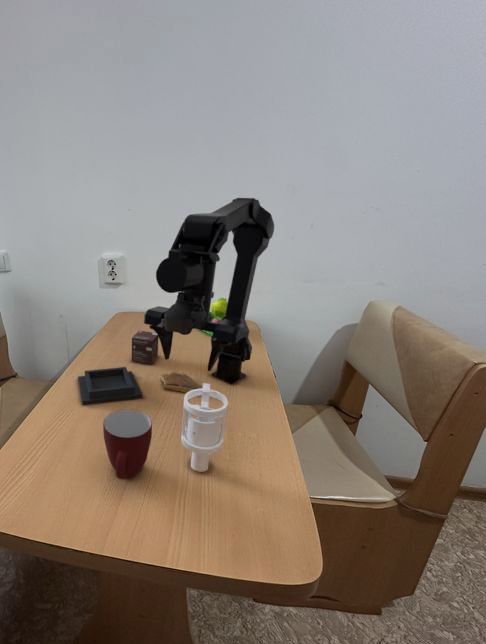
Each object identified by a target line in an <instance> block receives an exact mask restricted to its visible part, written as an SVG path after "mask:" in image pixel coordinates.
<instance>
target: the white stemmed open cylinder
mask: <svg viewBox="0 0 486 644" xmlns="http://www.w3.org/2000/svg"><path fill="white" fill-rule="evenodd" d="M202 388H203V389H194V390H191V391H189V392H187V393H186V392H185V394H184V397H183V408H182V411H183V412H182V422H181V423H182V425H181V439H180V440H181V443H182V445H183V446H184V448H185V449H186V450H188V451H190V452H191V459H190V460H191V461H190V467H191V469H192V470H194V471H195V472H197V473H204V472H206V471H207V470H209V464H210V455H212V454H216V453H218V452H220V451H221V450H222V448H223V446H224V441H225V440H224V438H225V430H226V423H227V416H228V415H227V414H228V406H229V400H228V398H227V396H225V394H223V393H222V392H219V391H217V390H215V389H211V383H205V382H203V383H202ZM195 397H201V400H200V401H201V403H200V404H201V405H200V404H192V403H190V402H189V400H190V399H192V398H195ZM210 398H214V399H216V400H218V401H220V402H222V406H221V407H219V408H216V409H214V408H212V407H209V403H210V402H209V401H210ZM193 416H196V418H195V417H193Z"/></svg>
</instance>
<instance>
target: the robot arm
mask: <svg viewBox="0 0 486 644" xmlns="http://www.w3.org/2000/svg"><path fill="white" fill-rule="evenodd" d="M229 233H232V237H233V238H232V244H233V247H234V249H235V252H236V258H235V263H234V268H233V269H234V270H233V274H232V279H231V284H230V288H229V293H228V299H227V308H226V313H225V316H224V318H223V319H222V320H221V321H220V322H219V323H218V322H217V323H216V322H211V321H208V319H210V318H211V313H209V312H211V305H212V299H213V298H214V296H215V292H214V291H213V289H214V283H215V275H216V269H217V268H216V267H217V262H220V260H221V258H220V255H219V254H220V251H221V250H222V248H223V246H224V245H225V244H226V243H227V242H228V238H229ZM274 233H275V223H274V220H273V216H272V214H271V212H269V211H268V210H267V209H266V208H264V207H263V206H261V203H260V201H259V199H256V198H255V197H236V198H234V199H232V201H230V202H229V203H227V204H225V205H224V206H221V207H220V208H218V209H216V210H214V211H212V212H208V213H207V212H205V213H204V212H203V213H191V214H188V215H187V216H186V217H185V219H184V221H183V222H182V224H181V226H180V228H179V230H178V232H177V235H176V237H175V239H174V241H173V243H172V245H171V248H170V249H169V250H168V255H167V256H168V257H166V258H164V259H163V260H162V261H160V263H159V265H158V267H157V269H156V271H155V279H156V282H157V285H158V286H159V288H160V289H161V290H163V292H165V293H168V294H174V293H177V295H176V300H175V303H173V304H172V305H171V306H170V307H166V306H165V307H164V306H159V305H158V306H155V307H152V308H148V309H147V310H146V311H145V312H144V315H143V324H145V325H149V329H150V330H153V331H154V333H157V334H158V337H159V339H158V340H159V342H160V346H161V349H162V352H163V356H164V360H166V361H168V360H169V359H170V357H171V353H172V345H173V338H174V333H178V334H180V335H183V336H187V335H190V334H191V333H192V331H193V330H200V331H202V330H204V331H209V332H213V334H212V336H211V339H210V344H211V349H210V354H209V359H208V363H207V372H211V371H212V369H213V368H214V366H215V365H216V363H217V365H216V370H215V371H214V372H212V373H211V376H212V377H213V378H216V379H217V380H220V381H222V382H225V383H228V384H230V385H234V384H236V383H237V382H239V381H240V380H242V379H244V378H246V377H247V374H246V373H244V372H242V367H243V363H245V362H246V361H250V360H251V356H252V353H253V352H252V351H253V346H252V343H251V341H250V339H249V336H250V335H249V334H250V329H249V327H248V324H247V321H246V315H247V310H248V306H249V305H248V304H249V302H250V297H251V292H252V288H253V282H254V277H255V273H256V270H257V269H256V268H257V264H258V259H259V257H260V256H261V255H262V254H263V253H264V252H265V251H266V249H267V248H268V247H269V244H270V239H272V238H273V235H274ZM204 331H203V332H204Z"/></svg>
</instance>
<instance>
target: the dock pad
mask: <svg viewBox="0 0 486 644" xmlns="http://www.w3.org/2000/svg"><path fill="white" fill-rule="evenodd" d="M77 380H78V381H77V382H78V387H79V392H80V398H81V404H82V406H85V405H93V404H102V403H113V402H120V401H121V402H122V401H130V400H137V399H143V392H142V391H141V389H140V386H139V383H138V382H137V380H136V377H135V375H134V373H133V371H132V370H129V371H128V368H127V366H121V367H111V368H109V367H108V368H101V369H100V368H99V369H89V370H84V375H80V376H79V375H78V376H77Z"/></svg>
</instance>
